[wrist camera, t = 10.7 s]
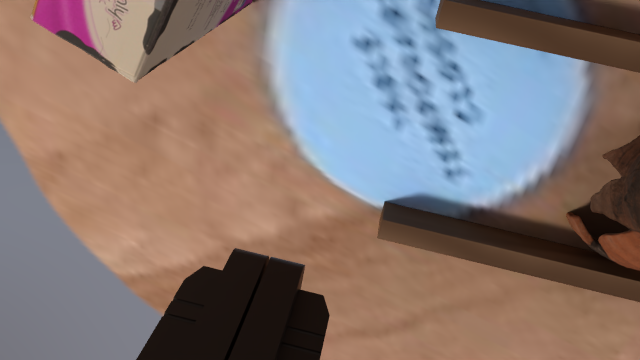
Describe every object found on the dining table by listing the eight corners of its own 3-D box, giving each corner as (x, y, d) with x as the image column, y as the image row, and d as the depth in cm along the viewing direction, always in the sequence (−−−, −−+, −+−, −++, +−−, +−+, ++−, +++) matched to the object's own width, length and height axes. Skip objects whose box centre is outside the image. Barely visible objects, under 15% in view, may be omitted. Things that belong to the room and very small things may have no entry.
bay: (442, -8, 34) (444, 4, 30) (883, 87, 32) (938, 112, 29) (379, 219, 42) (375, 250, 39) (729, 304, 41) (758, 344, 37)
